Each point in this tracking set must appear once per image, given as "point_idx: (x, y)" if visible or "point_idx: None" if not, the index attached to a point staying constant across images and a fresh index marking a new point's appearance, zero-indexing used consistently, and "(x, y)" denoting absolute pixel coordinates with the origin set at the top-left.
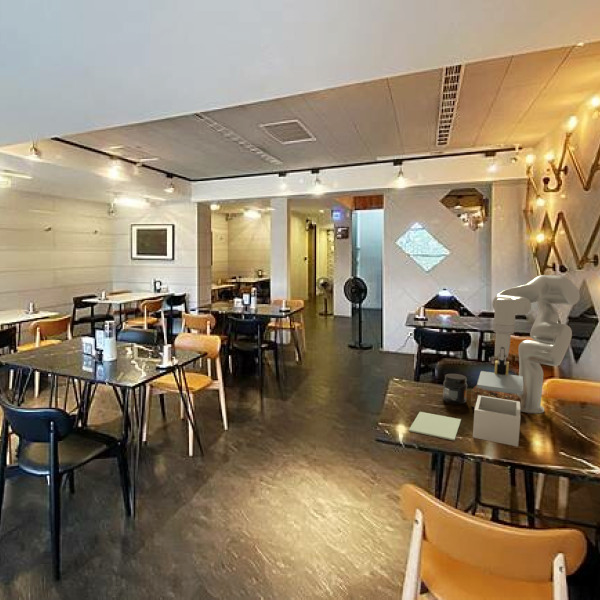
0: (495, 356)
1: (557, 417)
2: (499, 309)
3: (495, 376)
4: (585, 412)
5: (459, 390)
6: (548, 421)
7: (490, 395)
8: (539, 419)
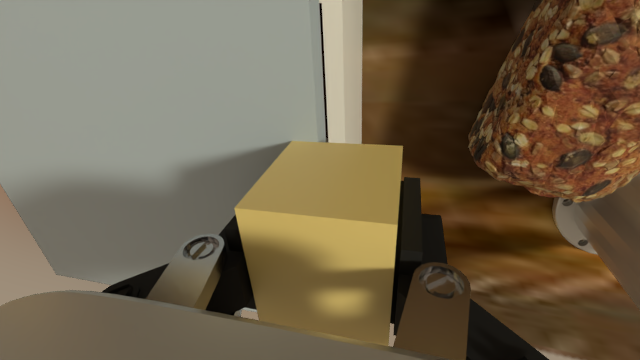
0: (29, 298)
1: (537, 274)
2: None
3: (200, 149)
4: (625, 353)
5: None
6: (479, 244)
7: (550, 43)
8: (490, 222)
